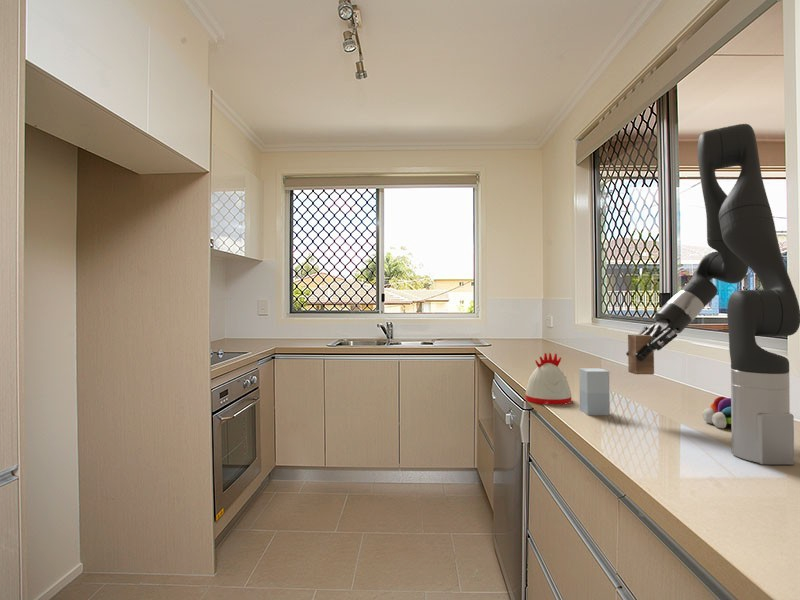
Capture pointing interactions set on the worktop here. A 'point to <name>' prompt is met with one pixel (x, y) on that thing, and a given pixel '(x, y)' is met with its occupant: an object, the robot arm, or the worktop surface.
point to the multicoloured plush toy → (719, 412)
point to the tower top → (594, 380)
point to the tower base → (595, 403)
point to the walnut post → (633, 363)
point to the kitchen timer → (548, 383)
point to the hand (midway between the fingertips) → (633, 357)
